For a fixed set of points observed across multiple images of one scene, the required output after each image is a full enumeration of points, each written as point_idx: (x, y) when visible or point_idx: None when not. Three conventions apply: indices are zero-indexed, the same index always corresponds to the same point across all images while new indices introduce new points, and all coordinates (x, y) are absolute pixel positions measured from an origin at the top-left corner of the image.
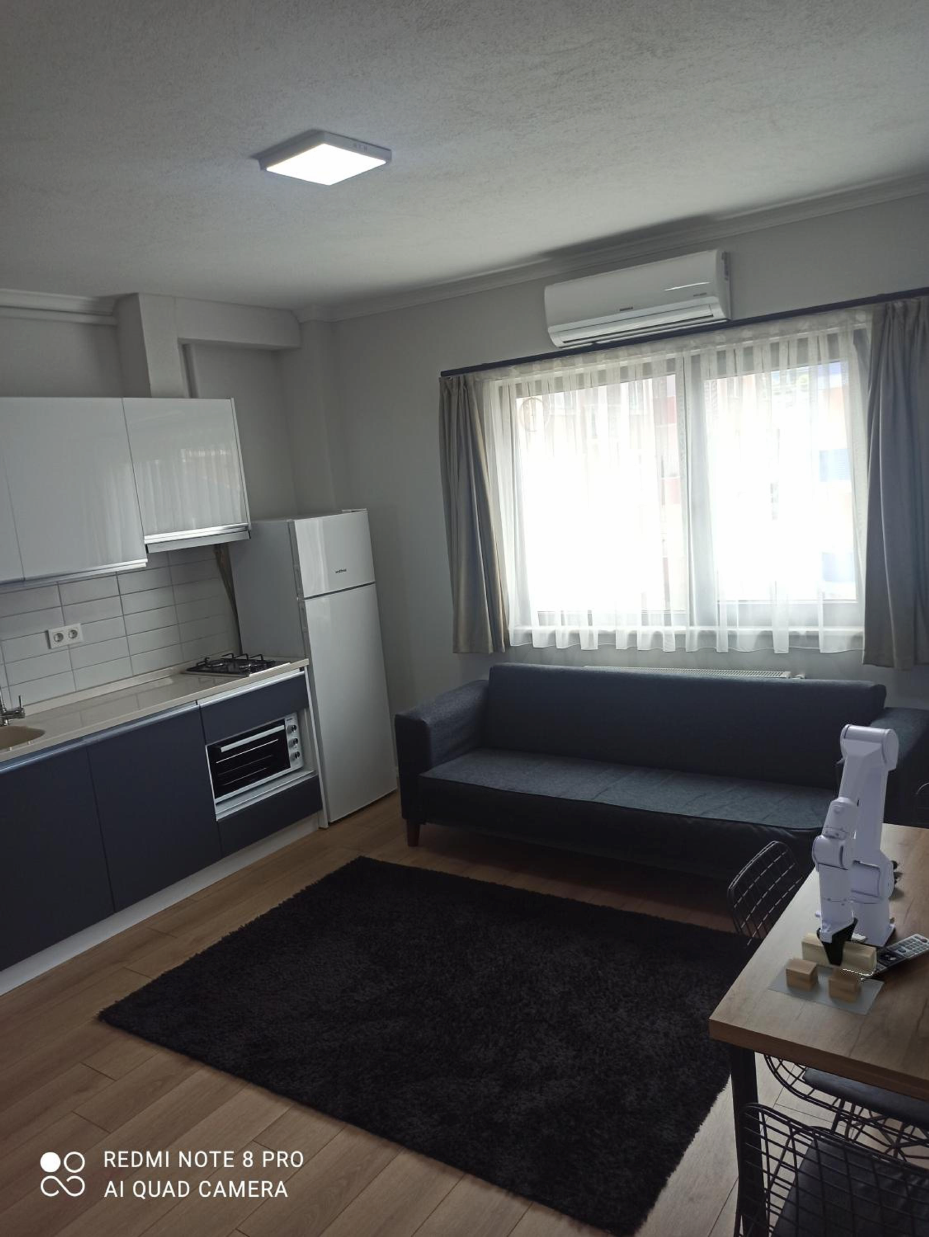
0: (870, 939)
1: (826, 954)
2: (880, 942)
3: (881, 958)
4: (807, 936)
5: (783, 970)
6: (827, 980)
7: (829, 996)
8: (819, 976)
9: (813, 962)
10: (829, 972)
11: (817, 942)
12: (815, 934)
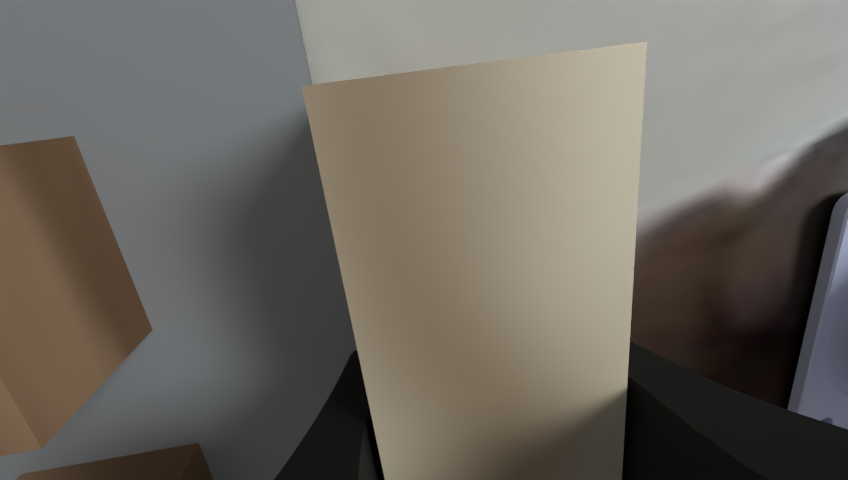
0: (843, 379)
1: (327, 400)
2: (828, 416)
3: None
4: (513, 91)
5: (29, 4)
6: (197, 379)
7: (21, 476)
8: (203, 315)
9: (18, 414)
10: (307, 343)
11: (422, 294)
12: (627, 167)
